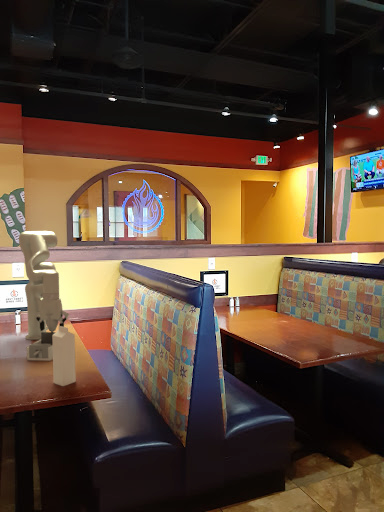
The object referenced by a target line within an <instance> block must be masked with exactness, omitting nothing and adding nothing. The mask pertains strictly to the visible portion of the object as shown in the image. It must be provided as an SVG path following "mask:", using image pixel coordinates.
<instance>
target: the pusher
mask: <svg viewBox="0 0 384 512" xmlns="http://www.w3.org/2000/svg"><path fill="white" fill-rule="evenodd" d="M56 332H57V331H54V332H51V331H46V332H42V333H41V344H51V345H53V341H52V335H53V334H54V333H56ZM41 351H42V350H39V351H37V352H35V353H34V354H33V355H36V354H38V353H40V352H41Z"/></svg>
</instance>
